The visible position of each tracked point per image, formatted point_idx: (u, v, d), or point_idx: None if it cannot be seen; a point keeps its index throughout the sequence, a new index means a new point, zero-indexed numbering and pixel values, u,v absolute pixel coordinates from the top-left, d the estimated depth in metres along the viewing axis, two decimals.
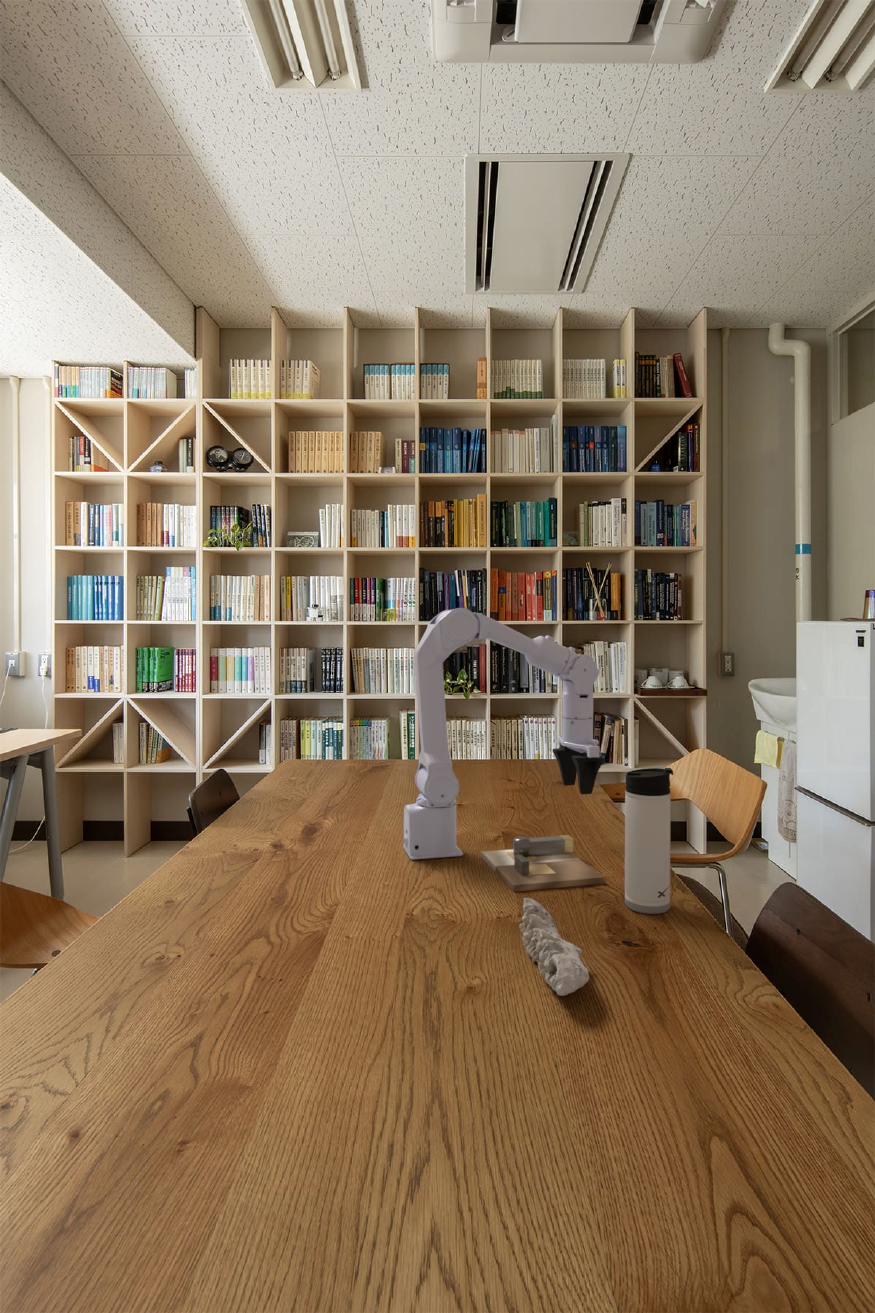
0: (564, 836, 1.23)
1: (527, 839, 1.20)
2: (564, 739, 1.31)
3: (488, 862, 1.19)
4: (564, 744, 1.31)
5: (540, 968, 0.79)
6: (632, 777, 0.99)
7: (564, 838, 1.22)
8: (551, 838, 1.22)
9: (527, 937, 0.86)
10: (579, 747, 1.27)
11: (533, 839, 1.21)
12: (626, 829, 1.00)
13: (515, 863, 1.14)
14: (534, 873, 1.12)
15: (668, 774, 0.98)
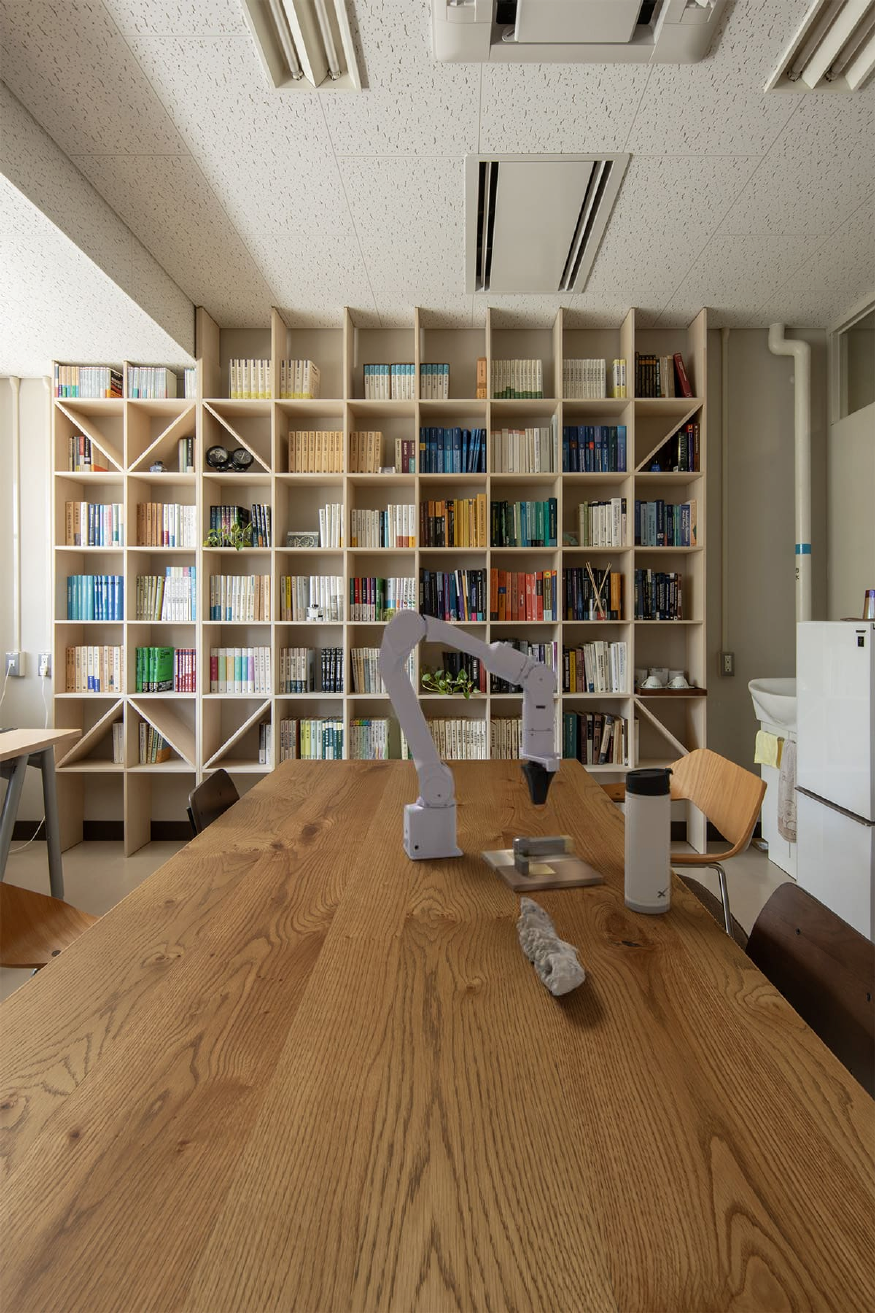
0: (564, 836, 1.23)
1: (527, 839, 1.20)
2: (524, 751, 1.25)
3: (488, 862, 1.19)
4: (524, 757, 1.25)
5: (536, 968, 0.79)
6: (632, 777, 0.99)
7: (564, 838, 1.22)
8: (551, 838, 1.22)
9: (524, 937, 0.86)
10: (539, 760, 1.22)
11: (533, 839, 1.21)
12: (626, 829, 1.00)
13: (515, 863, 1.14)
14: (534, 873, 1.12)
15: (668, 774, 0.98)
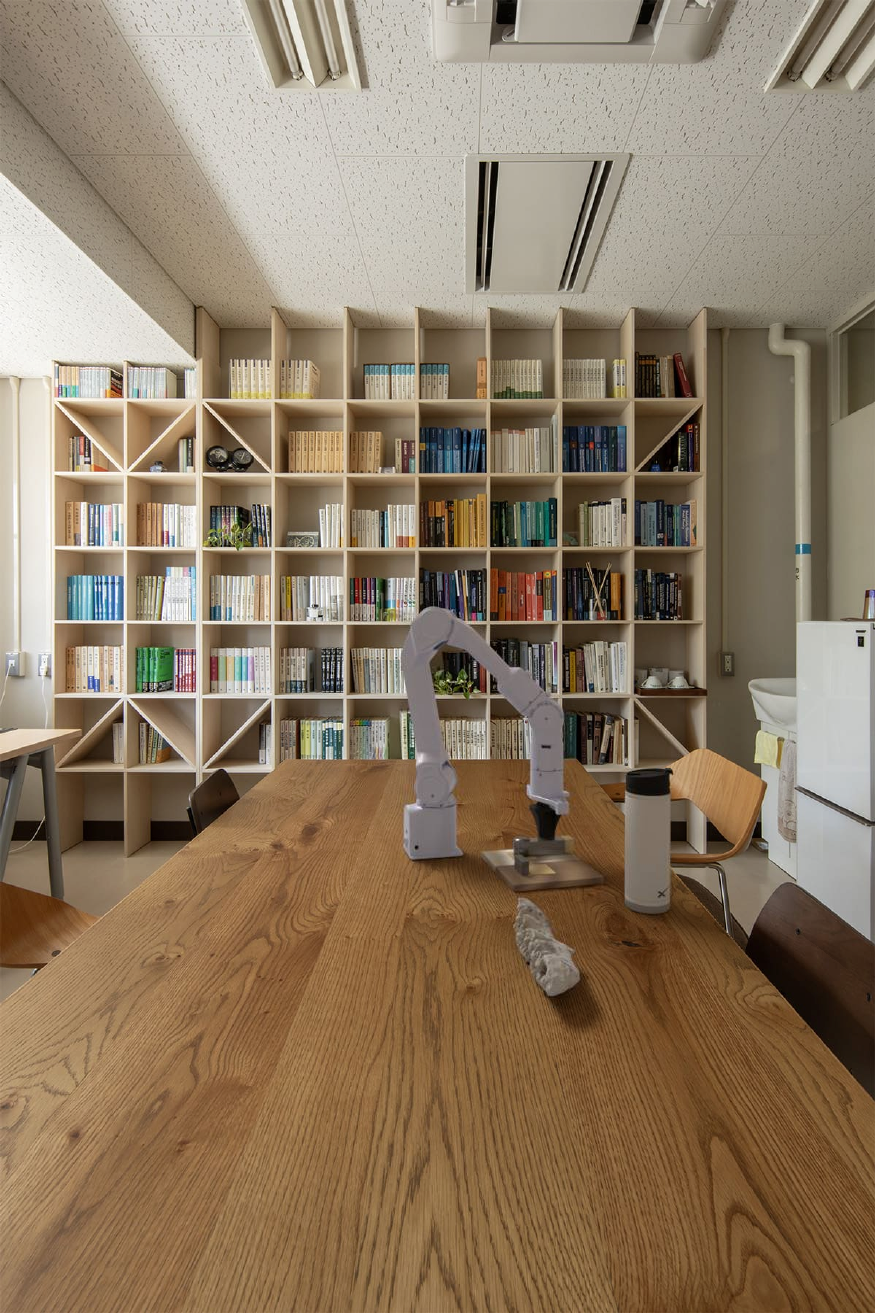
0: (565, 836, 1.23)
1: (527, 839, 1.20)
2: (532, 792, 1.22)
3: (488, 862, 1.19)
4: (532, 797, 1.21)
5: (532, 968, 0.79)
6: (632, 777, 0.99)
7: (565, 838, 1.21)
8: (551, 838, 1.22)
9: (520, 937, 0.86)
10: (547, 802, 1.18)
11: (533, 839, 1.21)
12: (626, 829, 1.00)
13: (515, 863, 1.14)
14: (534, 873, 1.12)
15: (668, 774, 0.98)
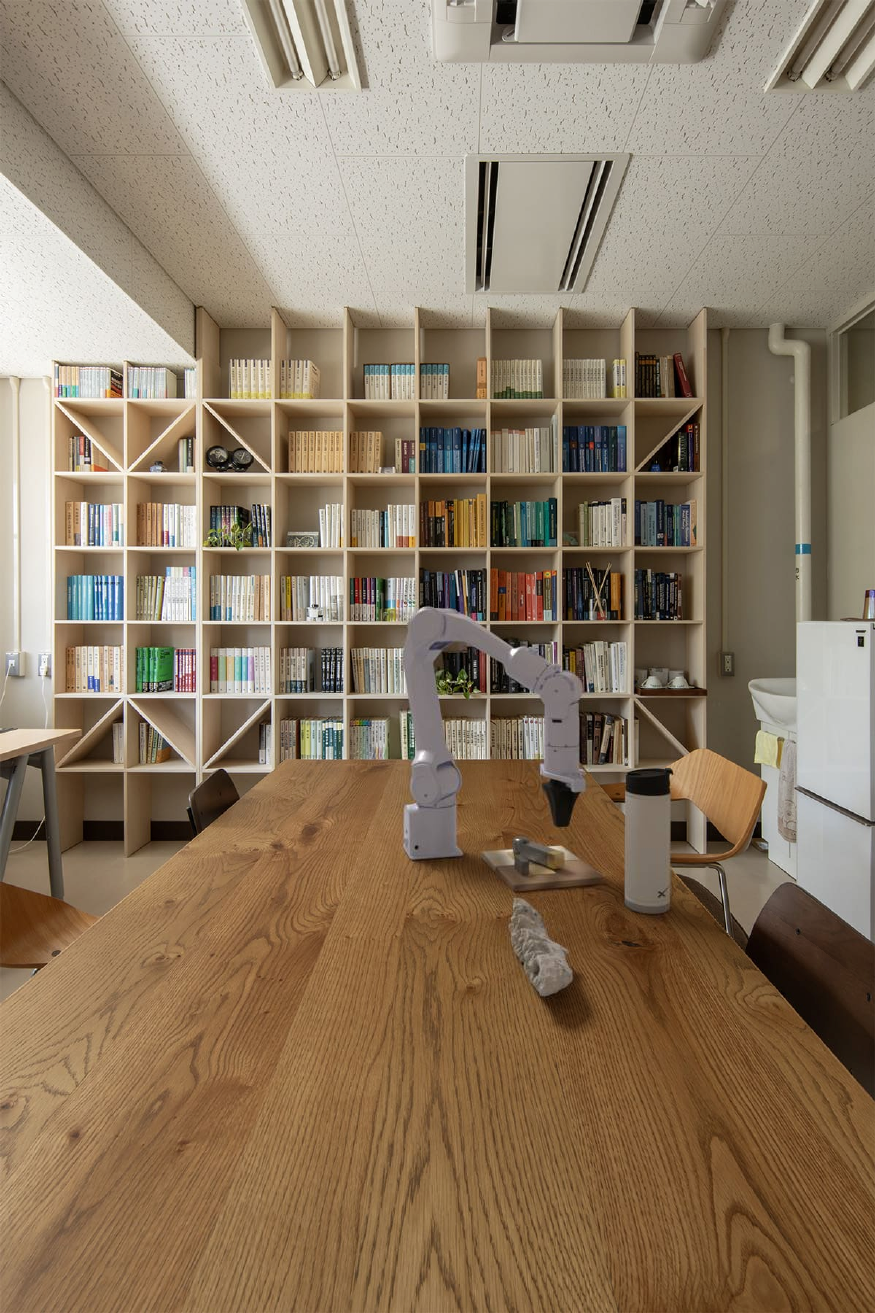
0: (556, 851, 1.14)
1: (522, 840, 1.20)
2: (546, 769, 1.15)
3: (488, 862, 1.19)
4: (546, 775, 1.15)
5: (525, 968, 0.79)
6: (632, 777, 0.99)
7: (550, 852, 1.14)
8: (543, 848, 1.16)
9: (515, 937, 0.85)
10: (562, 779, 1.11)
11: (530, 843, 1.19)
12: (626, 829, 1.00)
13: (515, 863, 1.14)
14: (534, 873, 1.12)
15: (668, 774, 0.98)
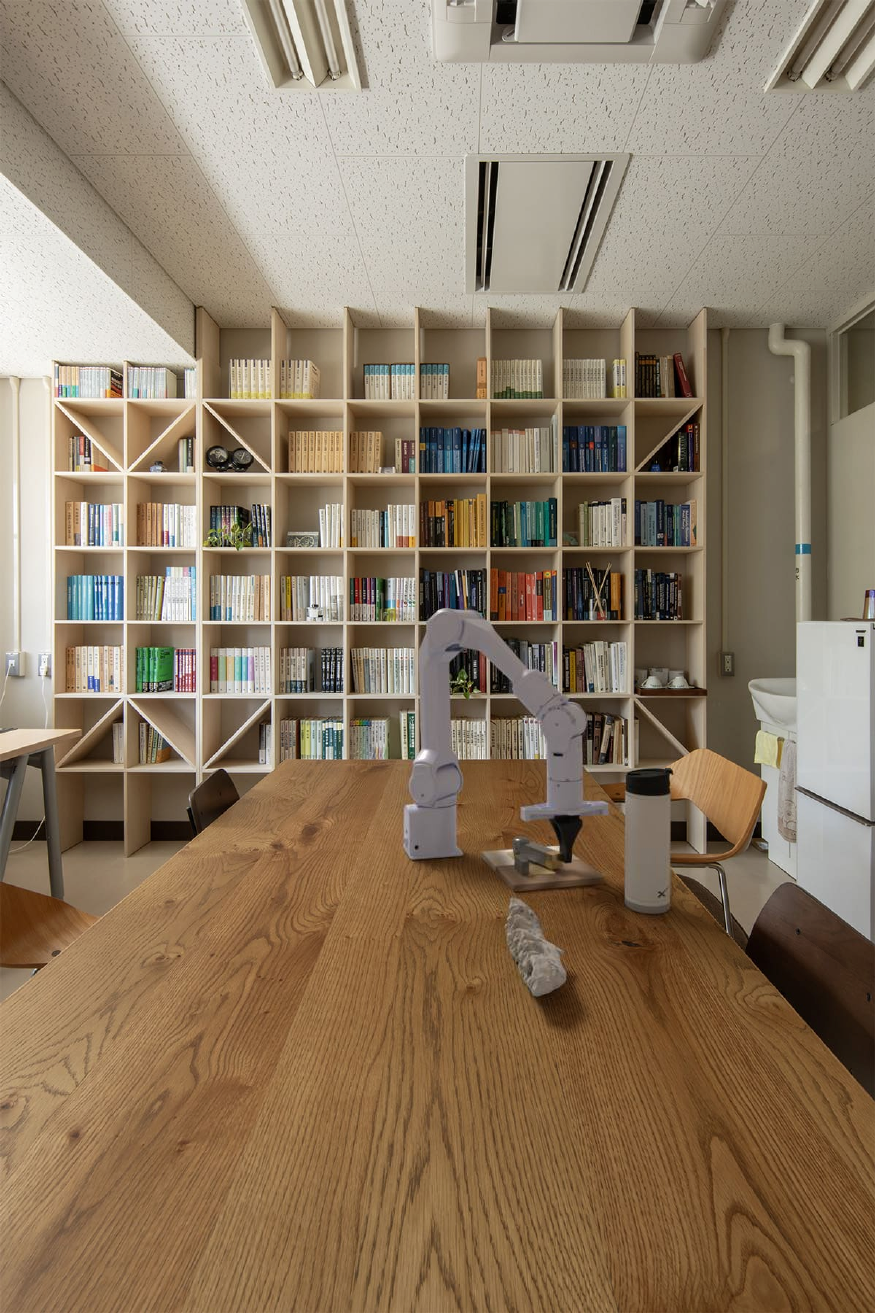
0: (555, 852, 1.14)
1: (522, 840, 1.20)
2: None
3: (488, 862, 1.19)
4: None
5: (520, 968, 0.79)
6: (632, 777, 0.99)
7: (548, 852, 1.14)
8: (542, 848, 1.16)
9: (510, 937, 0.85)
10: None
11: (530, 843, 1.19)
12: (626, 829, 1.00)
13: (515, 863, 1.14)
14: (534, 873, 1.12)
15: (668, 774, 0.98)
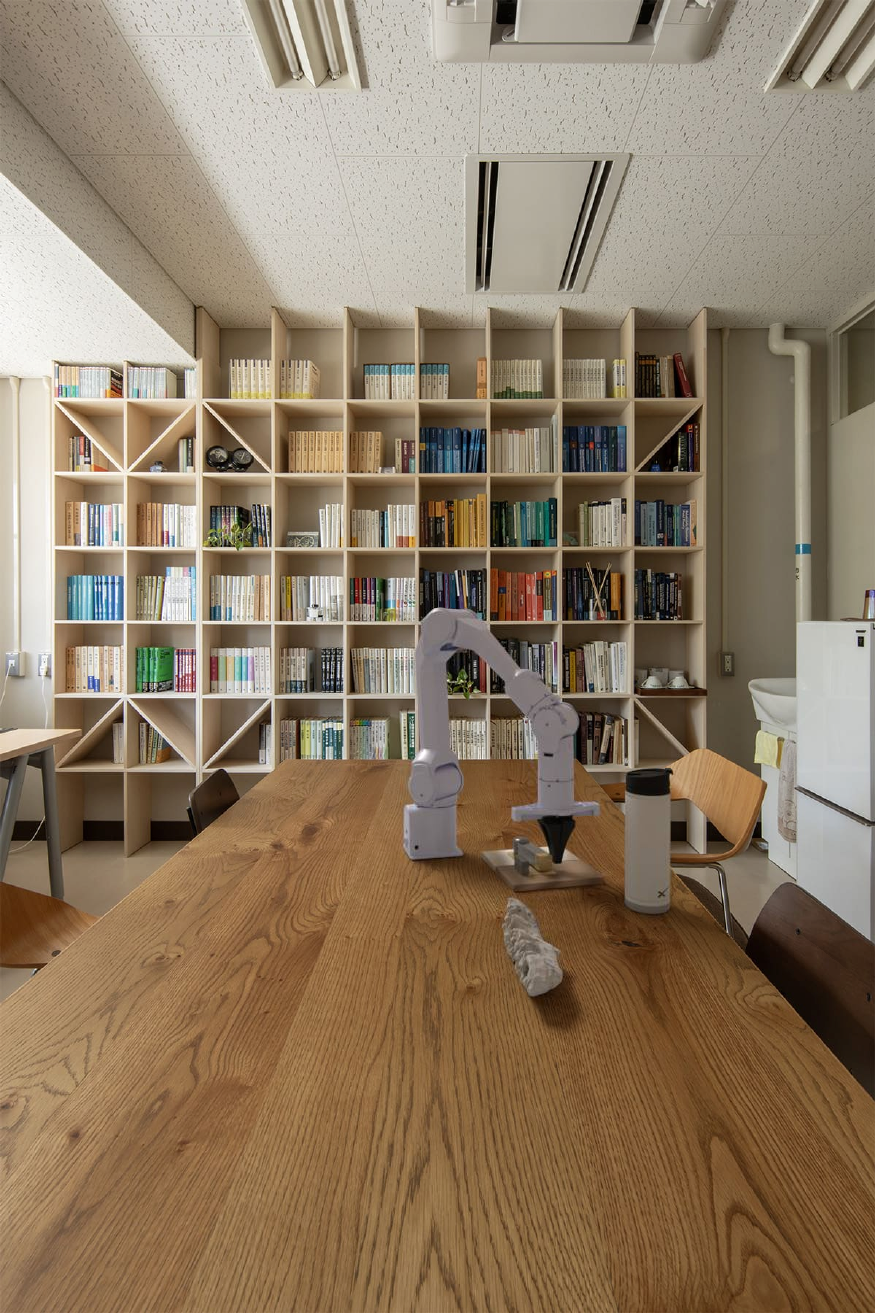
0: (545, 854, 1.13)
1: (520, 840, 1.20)
2: None
3: (488, 862, 1.19)
4: None
5: (516, 968, 0.79)
6: (632, 777, 0.99)
7: (538, 854, 1.13)
8: (535, 849, 1.15)
9: (508, 937, 0.85)
10: None
11: (527, 844, 1.19)
12: (626, 829, 1.00)
13: (515, 863, 1.14)
14: (534, 873, 1.12)
15: (668, 774, 0.98)
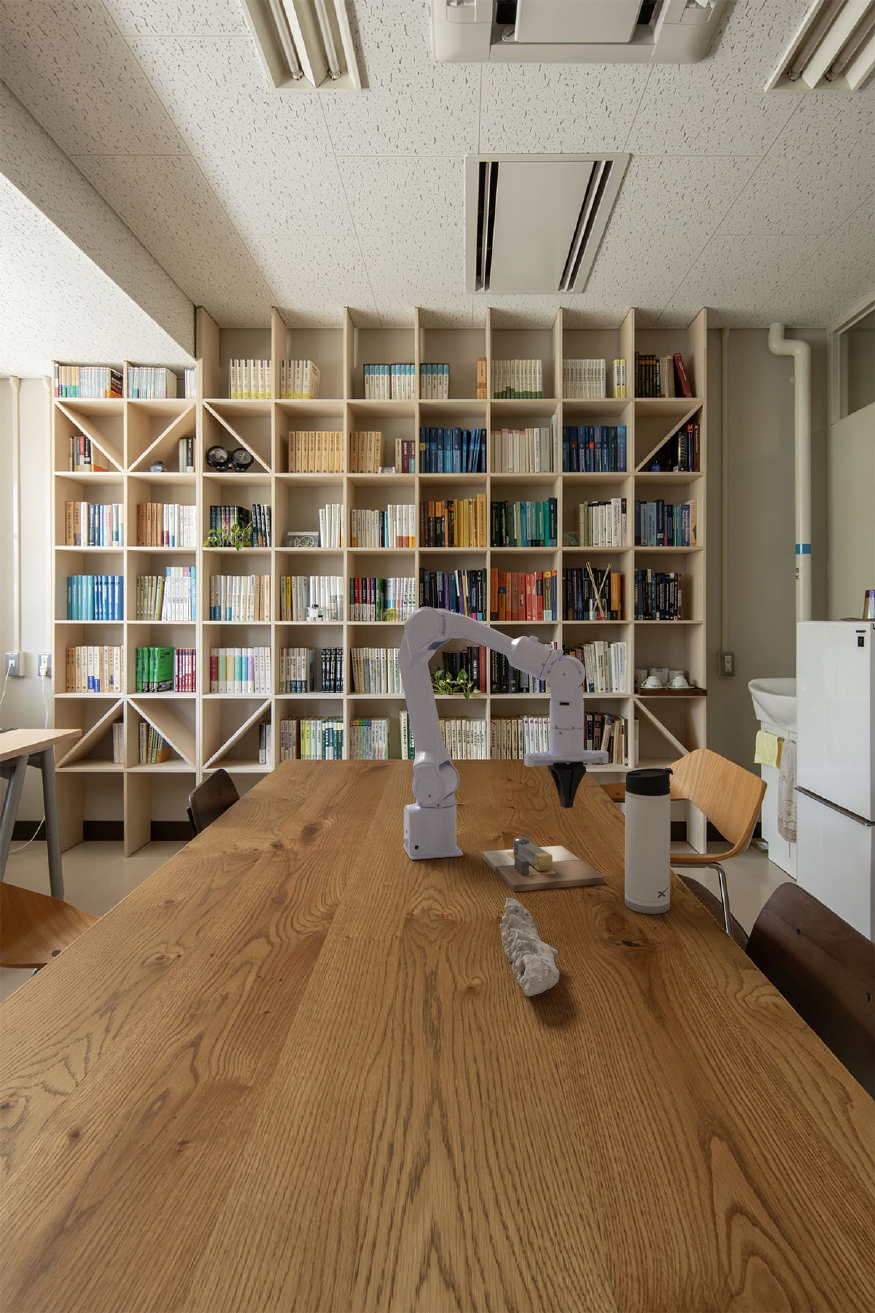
0: (545, 854, 1.13)
1: (520, 840, 1.20)
2: None
3: (488, 862, 1.19)
4: None
5: (513, 968, 0.79)
6: (632, 777, 0.99)
7: (538, 854, 1.13)
8: (535, 849, 1.15)
9: (505, 937, 0.85)
10: None
11: (527, 844, 1.19)
12: (626, 829, 1.00)
13: (515, 863, 1.14)
14: (534, 873, 1.12)
15: (668, 774, 0.98)
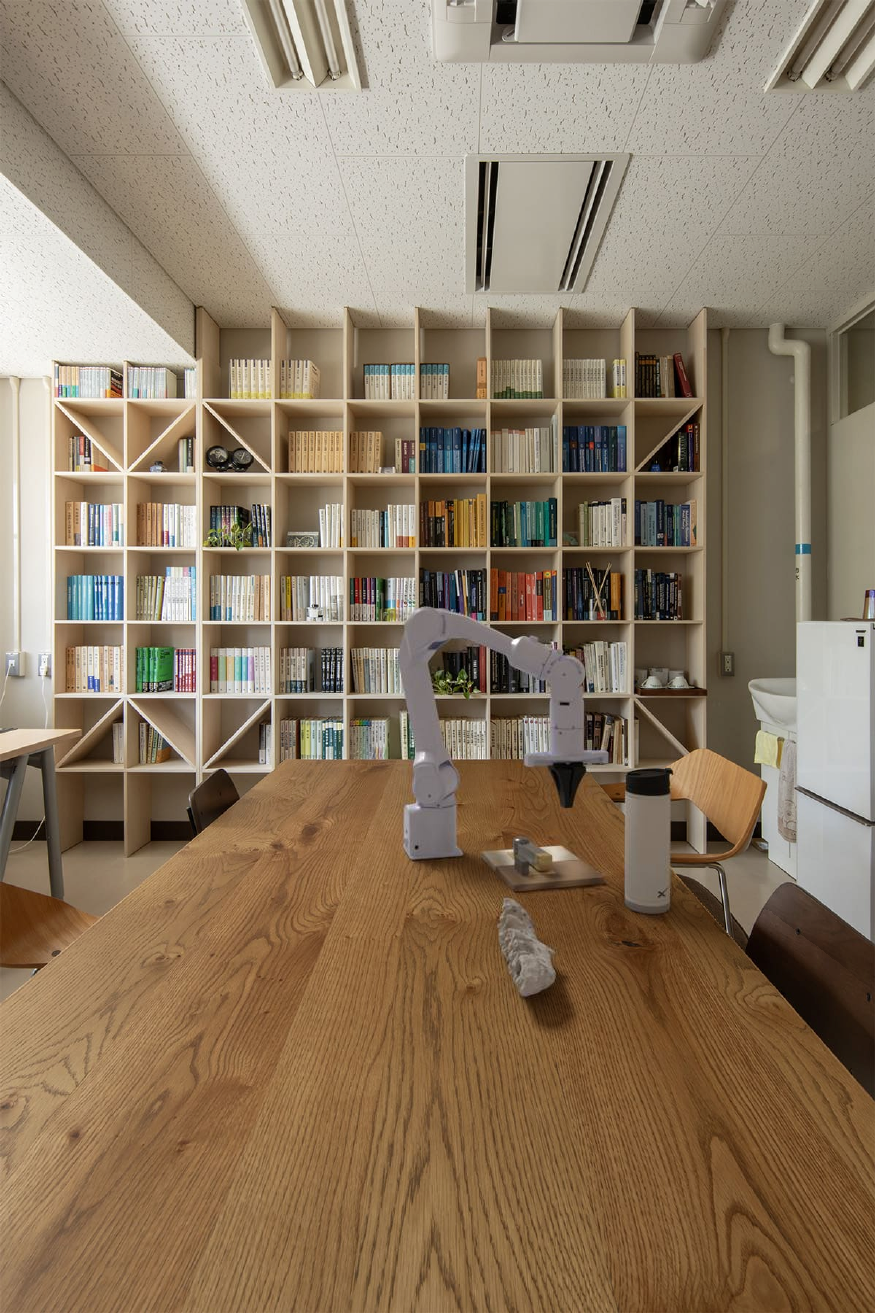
0: (545, 854, 1.13)
1: (520, 840, 1.20)
2: None
3: (488, 862, 1.19)
4: None
5: (510, 968, 0.79)
6: (632, 777, 0.99)
7: (538, 854, 1.13)
8: (535, 849, 1.15)
9: (502, 937, 0.85)
10: None
11: (527, 844, 1.19)
12: (626, 829, 1.00)
13: (515, 863, 1.14)
14: (534, 873, 1.12)
15: (668, 774, 0.98)
